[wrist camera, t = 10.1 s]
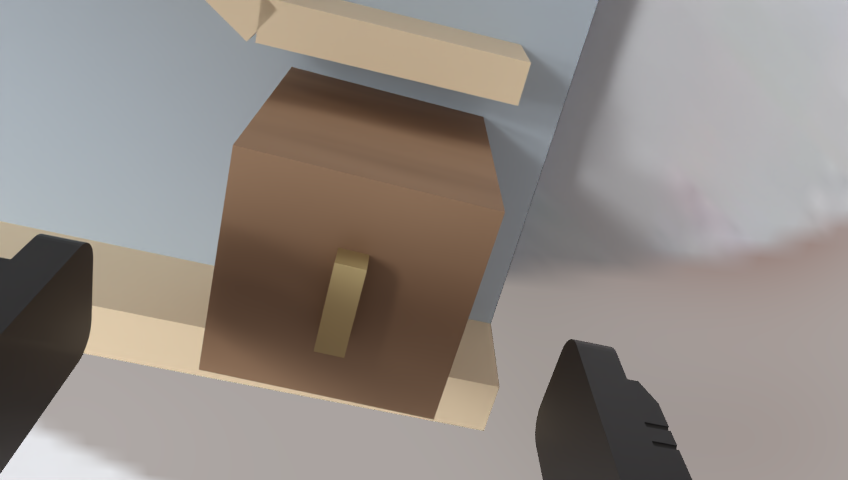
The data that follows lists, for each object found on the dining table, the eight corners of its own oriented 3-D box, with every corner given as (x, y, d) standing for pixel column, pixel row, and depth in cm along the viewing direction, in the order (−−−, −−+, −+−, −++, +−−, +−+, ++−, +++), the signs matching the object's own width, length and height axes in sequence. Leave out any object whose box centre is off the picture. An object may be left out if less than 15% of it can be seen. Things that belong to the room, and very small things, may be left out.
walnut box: (291, 66, 18) (223, 156, 12) (483, 116, 19) (508, 226, 13) (260, 239, 20) (189, 388, 14) (432, 280, 21) (433, 439, 15)
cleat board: (-353, -305, 16) (-599, -363, 12) (602, -51, 18) (648, -33, 14) (-256, 190, 21) (-407, 258, 17) (475, 341, 23) (483, 430, 19)
